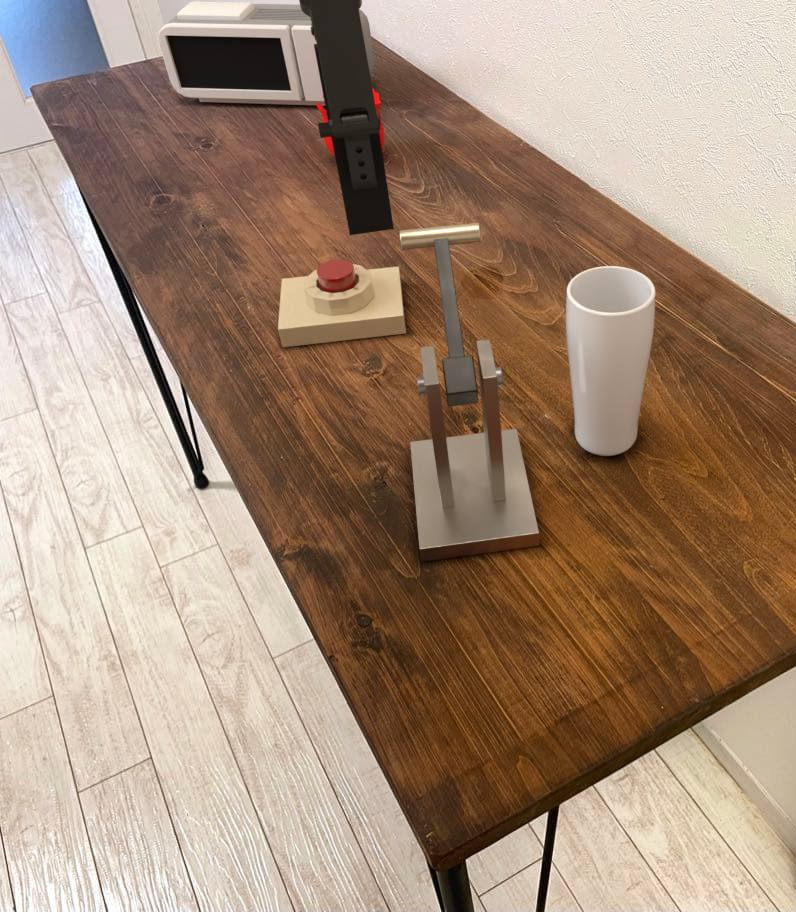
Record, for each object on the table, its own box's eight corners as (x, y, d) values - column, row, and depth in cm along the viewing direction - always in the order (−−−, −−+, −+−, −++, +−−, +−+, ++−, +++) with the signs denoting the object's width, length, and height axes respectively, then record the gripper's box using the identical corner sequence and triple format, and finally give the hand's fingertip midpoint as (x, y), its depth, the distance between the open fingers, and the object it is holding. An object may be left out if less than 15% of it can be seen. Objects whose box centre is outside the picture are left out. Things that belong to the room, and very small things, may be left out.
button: (319, 296, 89) (316, 280, 88) (320, 276, 92) (316, 261, 91) (357, 292, 90) (354, 276, 89) (356, 272, 92) (353, 257, 91)
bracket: (412, 454, 78) (390, 319, 69) (517, 441, 79) (509, 306, 69) (421, 562, 69) (398, 425, 60) (539, 545, 70) (534, 408, 61)
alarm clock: (176, 105, 132) (150, 18, 124) (202, 80, 139) (178, -4, 131) (361, 111, 129) (347, 22, 121) (378, 85, 136) (366, -1, 128)
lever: (400, 240, 71) (398, 223, 68) (478, 232, 71) (478, 215, 69) (421, 410, 66) (419, 398, 64) (504, 400, 67) (504, 387, 65)
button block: (282, 347, 89) (273, 313, 87) (286, 296, 96) (277, 263, 93) (406, 333, 91) (401, 299, 88) (401, 284, 97) (396, 250, 94)
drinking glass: (550, 431, 80) (547, 282, 69) (613, 402, 82) (620, 255, 72) (596, 476, 76) (601, 326, 65) (661, 444, 78) (675, 294, 68)
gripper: (398, -168, 39) (446, 267, 54) (345, -243, 57) (392, 99, 71) (216, -154, 38) (316, 287, 52) (219, -235, 55) (293, 111, 70)
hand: (360, 180), depth 62 cm, fingers open, 13 cm apart
